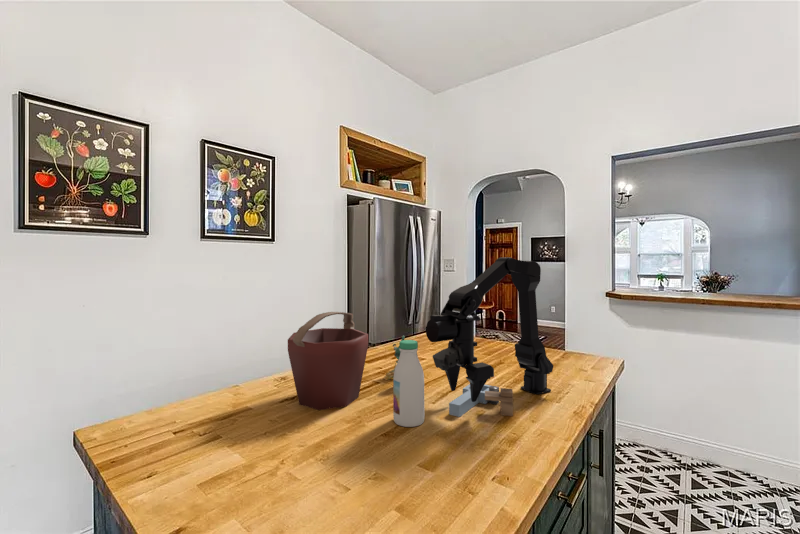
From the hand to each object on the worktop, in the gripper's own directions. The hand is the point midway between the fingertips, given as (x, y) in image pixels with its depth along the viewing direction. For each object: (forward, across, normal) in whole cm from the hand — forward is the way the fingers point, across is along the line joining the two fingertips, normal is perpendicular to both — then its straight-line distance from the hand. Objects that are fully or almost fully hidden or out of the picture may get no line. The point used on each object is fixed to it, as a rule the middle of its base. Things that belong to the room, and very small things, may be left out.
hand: (463, 395), depth 103 cm
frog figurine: (+4, -35, 0) cm, 35 cm away
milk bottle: (+4, 0, -16) cm, 17 cm away
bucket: (+4, -24, -29) cm, 38 cm away
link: (+4, -2, +4) cm, 6 cm away
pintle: (+4, 0, +11) cm, 11 cm away
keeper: (+4, +6, +7) cm, 10 cm away
